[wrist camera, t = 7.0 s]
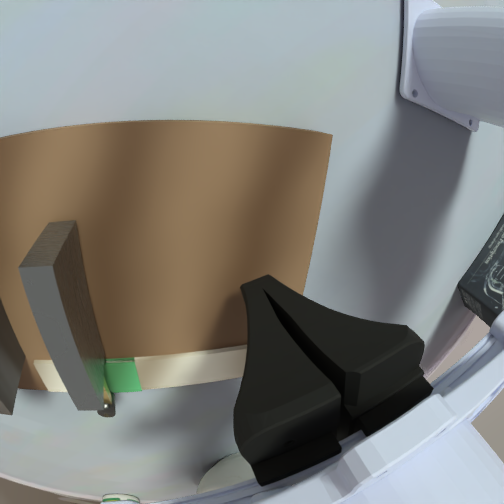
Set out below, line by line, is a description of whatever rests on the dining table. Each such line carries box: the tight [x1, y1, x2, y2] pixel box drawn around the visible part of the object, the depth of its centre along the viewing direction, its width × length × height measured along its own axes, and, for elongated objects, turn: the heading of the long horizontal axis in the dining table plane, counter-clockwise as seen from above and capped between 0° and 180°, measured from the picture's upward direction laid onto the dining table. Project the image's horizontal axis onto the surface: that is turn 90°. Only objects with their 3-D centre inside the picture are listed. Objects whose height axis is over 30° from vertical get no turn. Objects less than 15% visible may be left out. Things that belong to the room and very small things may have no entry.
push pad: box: [18, 220, 115, 417], centre depth 10 cm, size 1×10×4 cm, turn 175°
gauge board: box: [0, 120, 333, 415], centre depth 11 cm, size 18×14×6 cm
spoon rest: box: [197, 452, 255, 494], centre depth 23 cm, size 24×12×7 cm, turn 157°
